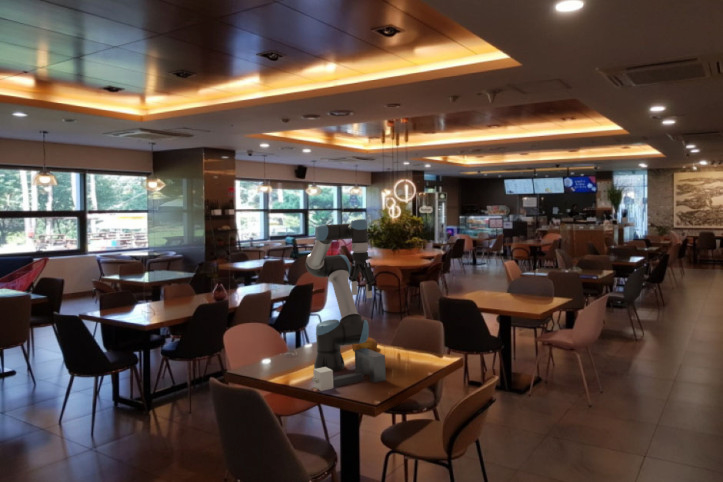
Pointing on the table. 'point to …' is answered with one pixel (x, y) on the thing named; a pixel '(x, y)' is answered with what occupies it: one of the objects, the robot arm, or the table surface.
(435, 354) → the table surface
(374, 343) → the golden lumpy mound
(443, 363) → the table surface
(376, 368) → the cable tunnel
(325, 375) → the plug
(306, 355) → the table surface
